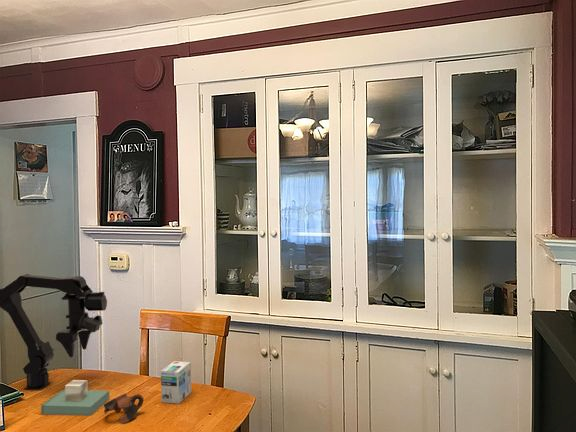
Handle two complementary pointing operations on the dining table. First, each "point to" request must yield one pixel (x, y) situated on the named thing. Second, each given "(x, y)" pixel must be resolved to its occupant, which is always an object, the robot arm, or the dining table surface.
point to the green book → (75, 404)
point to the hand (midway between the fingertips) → (78, 353)
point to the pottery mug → (125, 406)
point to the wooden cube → (76, 390)
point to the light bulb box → (176, 382)
